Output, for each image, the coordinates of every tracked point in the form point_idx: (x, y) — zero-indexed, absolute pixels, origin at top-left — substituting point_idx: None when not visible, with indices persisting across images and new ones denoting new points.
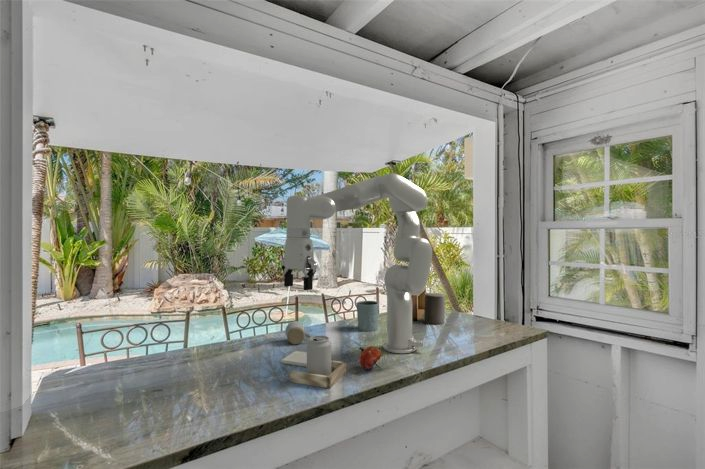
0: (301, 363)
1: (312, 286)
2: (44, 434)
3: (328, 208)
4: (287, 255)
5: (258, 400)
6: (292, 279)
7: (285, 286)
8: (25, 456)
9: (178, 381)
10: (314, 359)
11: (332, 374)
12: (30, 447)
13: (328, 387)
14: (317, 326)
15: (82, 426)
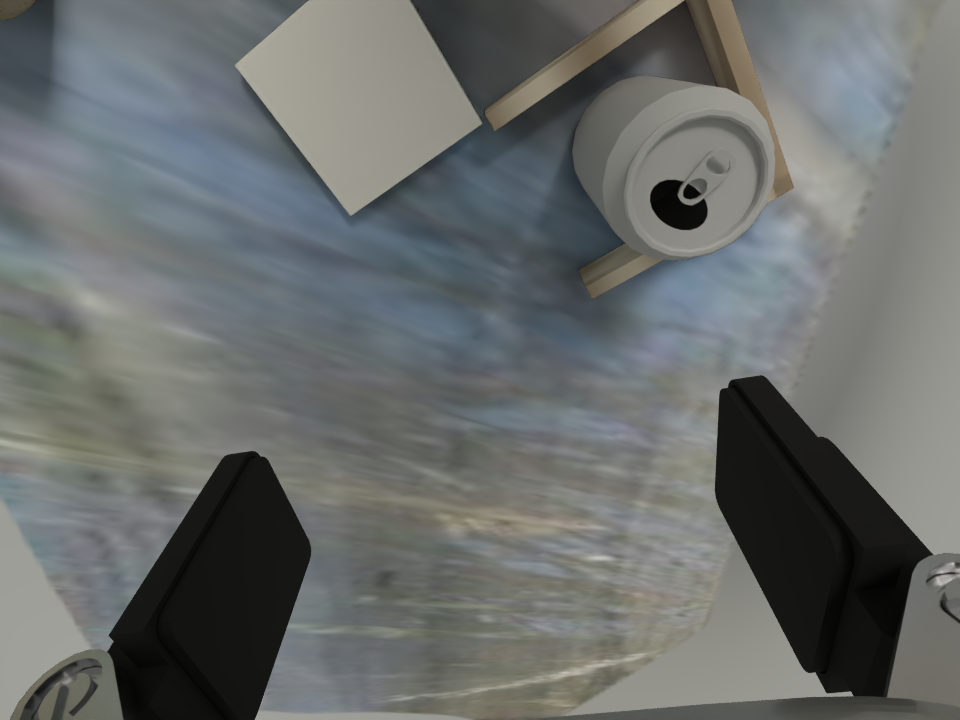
0: (450, 145)
1: (778, 393)
2: (483, 704)
3: None
4: None
5: (641, 420)
6: (221, 541)
7: (305, 551)
8: (546, 715)
9: (348, 538)
10: (694, 223)
11: (776, 152)
12: (519, 712)
13: None
14: None
15: (491, 674)
